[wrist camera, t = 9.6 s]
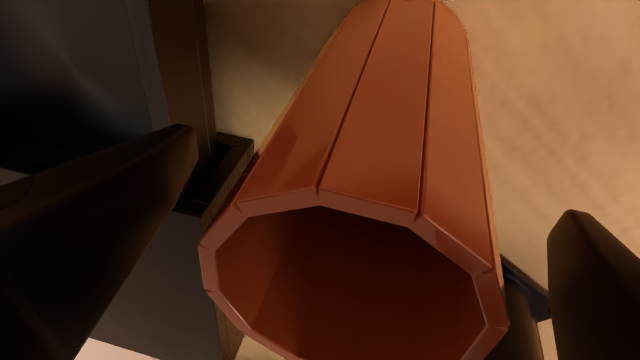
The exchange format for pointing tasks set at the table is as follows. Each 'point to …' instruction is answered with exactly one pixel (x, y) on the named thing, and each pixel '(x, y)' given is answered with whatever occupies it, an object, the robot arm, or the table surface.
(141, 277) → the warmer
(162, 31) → the drawer
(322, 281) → the cup
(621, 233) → the table surface
